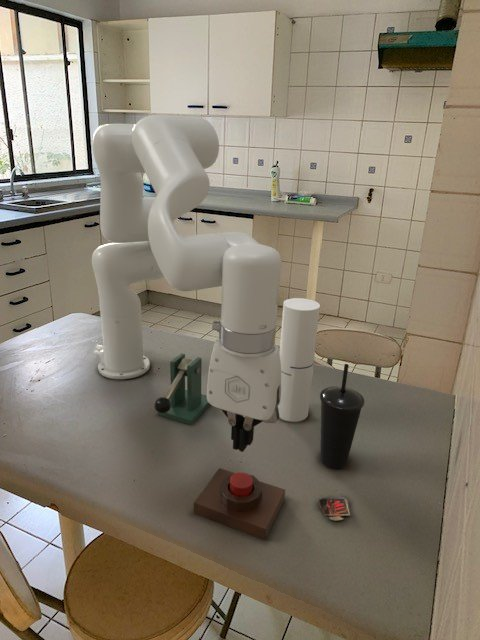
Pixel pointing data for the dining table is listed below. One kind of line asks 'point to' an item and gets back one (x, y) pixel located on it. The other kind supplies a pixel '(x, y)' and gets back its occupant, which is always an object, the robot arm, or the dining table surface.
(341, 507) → the matchbox
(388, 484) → the dining table surface
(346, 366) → the drinking cup
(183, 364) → the switch lever
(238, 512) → the switch block
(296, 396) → the cylindrical container
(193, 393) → the switch bracket
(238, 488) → the button
